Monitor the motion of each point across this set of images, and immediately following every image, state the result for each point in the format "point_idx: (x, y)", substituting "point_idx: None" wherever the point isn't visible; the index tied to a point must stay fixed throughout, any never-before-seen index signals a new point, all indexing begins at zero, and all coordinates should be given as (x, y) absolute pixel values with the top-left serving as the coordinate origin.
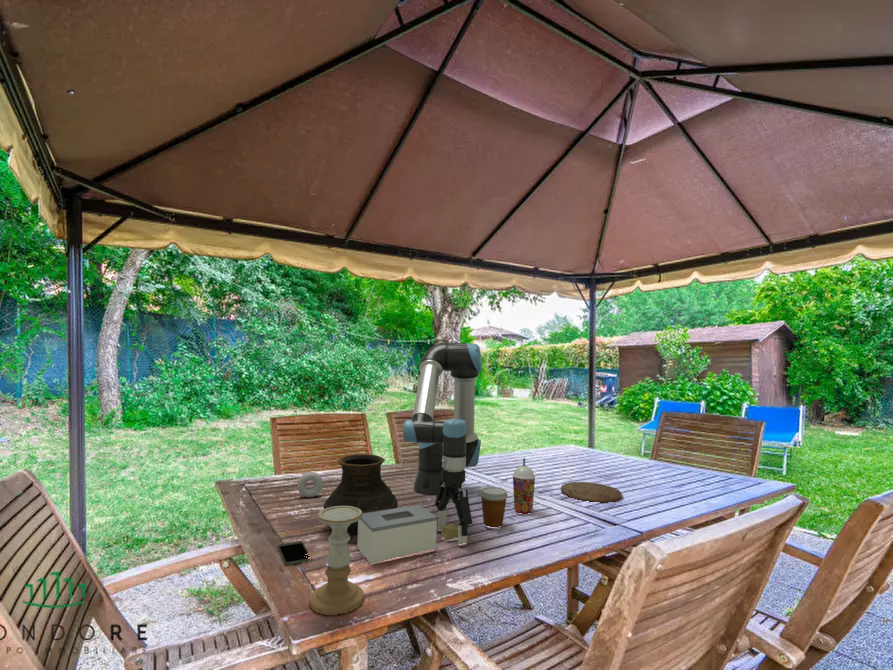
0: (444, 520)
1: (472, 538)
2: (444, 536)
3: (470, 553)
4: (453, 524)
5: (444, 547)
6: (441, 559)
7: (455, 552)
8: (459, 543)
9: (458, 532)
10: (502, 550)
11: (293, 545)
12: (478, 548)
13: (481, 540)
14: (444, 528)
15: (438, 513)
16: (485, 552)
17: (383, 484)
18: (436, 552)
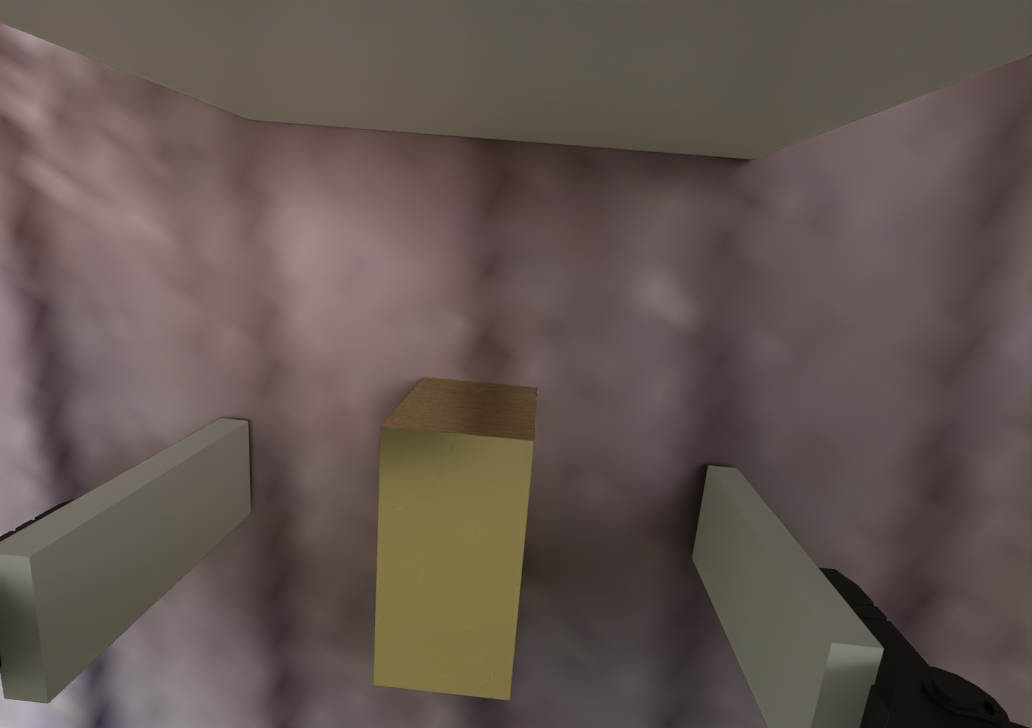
0: (736, 616)
1: (373, 664)
2: (456, 395)
3: (65, 434)
4: (500, 622)
5: (309, 280)
6: (40, 63)
7: (144, 313)
8: (197, 432)
9: (136, 486)
10: (19, 714)
11: None
12: None
13: (290, 702)
14: (441, 429)
15: (846, 610)
16: None
17: None
18: (228, 115)
